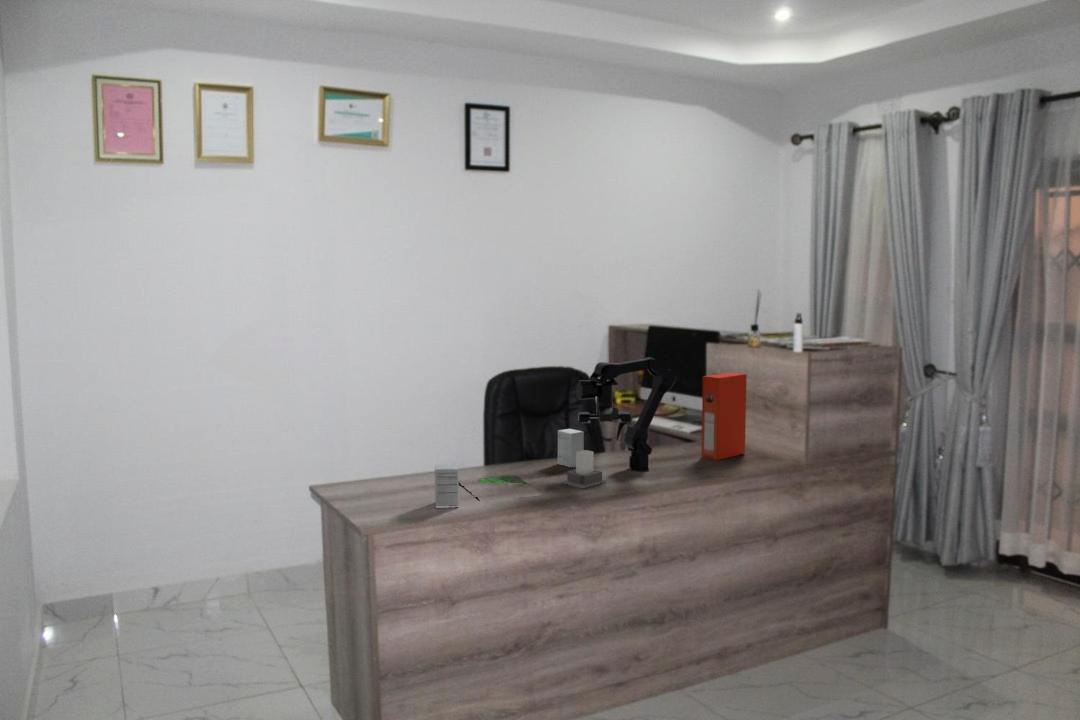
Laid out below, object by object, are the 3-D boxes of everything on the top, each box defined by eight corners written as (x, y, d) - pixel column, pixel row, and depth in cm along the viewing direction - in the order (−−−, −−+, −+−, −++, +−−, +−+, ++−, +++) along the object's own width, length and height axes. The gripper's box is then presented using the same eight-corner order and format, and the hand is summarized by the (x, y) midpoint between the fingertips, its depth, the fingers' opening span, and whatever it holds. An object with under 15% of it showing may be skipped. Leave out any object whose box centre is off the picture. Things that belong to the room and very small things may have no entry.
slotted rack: (587, 477, 306) (587, 466, 305) (606, 482, 299) (606, 471, 299) (563, 483, 298) (563, 472, 297) (582, 488, 291) (582, 477, 291)
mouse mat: (545, 496, 283) (545, 493, 283) (481, 504, 275) (481, 500, 275) (515, 477, 308) (515, 474, 308) (456, 483, 300) (456, 480, 300)
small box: (584, 465, 324) (584, 431, 322) (571, 468, 320) (571, 433, 318) (569, 461, 330) (569, 428, 328) (557, 464, 326) (557, 430, 324)
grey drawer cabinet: (435, 502, 275) (435, 463, 274) (459, 501, 276) (458, 463, 275) (434, 508, 268) (434, 469, 267) (458, 508, 269) (458, 468, 267)
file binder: (700, 457, 337) (702, 376, 334) (728, 450, 348) (730, 372, 345) (717, 460, 331) (719, 378, 327) (744, 454, 342) (747, 374, 339)
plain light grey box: (586, 478, 301) (586, 450, 300) (593, 479, 299) (593, 451, 298) (575, 480, 298) (576, 452, 297) (583, 482, 295) (583, 453, 294)
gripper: (580, 401, 301) (580, 445, 303) (633, 401, 302) (632, 445, 303) (577, 396, 312) (577, 438, 314) (629, 396, 313) (628, 438, 314)
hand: (604, 440), depth 311 cm, fingers open, 9 cm apart
